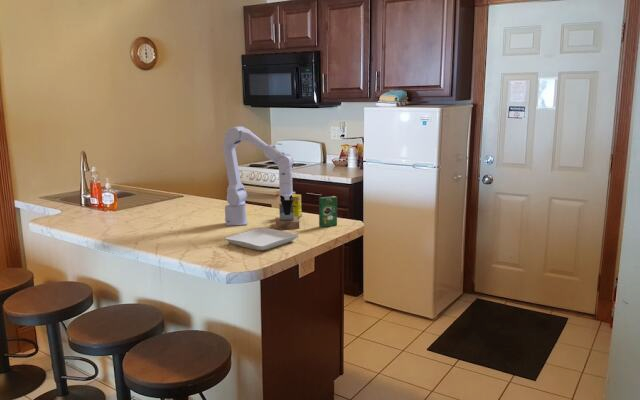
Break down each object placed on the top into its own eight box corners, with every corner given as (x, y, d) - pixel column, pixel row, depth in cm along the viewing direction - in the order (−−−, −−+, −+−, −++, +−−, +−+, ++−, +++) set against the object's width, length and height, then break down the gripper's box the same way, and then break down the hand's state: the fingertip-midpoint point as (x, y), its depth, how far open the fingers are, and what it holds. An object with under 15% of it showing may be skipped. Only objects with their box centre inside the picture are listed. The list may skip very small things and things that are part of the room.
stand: (276, 229, 222) (276, 222, 221) (275, 223, 232) (275, 217, 231) (299, 228, 223) (299, 221, 222) (297, 222, 233) (297, 216, 232)
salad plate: (262, 234, 217) (262, 226, 216) (300, 242, 203) (299, 233, 203) (223, 245, 201) (223, 237, 200) (261, 255, 187) (261, 246, 187)
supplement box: (299, 219, 239) (298, 196, 237) (286, 219, 240) (285, 196, 238) (302, 216, 245) (301, 194, 243) (289, 216, 246) (289, 194, 244)
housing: (280, 220, 225) (279, 203, 223) (279, 218, 228) (279, 201, 227) (293, 220, 225) (293, 203, 224) (293, 218, 229) (292, 201, 227)
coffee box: (334, 224, 229) (334, 195, 227) (337, 225, 227) (337, 196, 224) (318, 226, 226) (318, 197, 223) (322, 227, 223) (321, 198, 221)
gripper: (295, 185, 217) (296, 216, 220) (294, 179, 231) (295, 209, 234) (279, 185, 216) (280, 217, 219) (278, 180, 230) (279, 209, 233)
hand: (286, 212), depth 226 cm, fingers open, 7 cm apart
